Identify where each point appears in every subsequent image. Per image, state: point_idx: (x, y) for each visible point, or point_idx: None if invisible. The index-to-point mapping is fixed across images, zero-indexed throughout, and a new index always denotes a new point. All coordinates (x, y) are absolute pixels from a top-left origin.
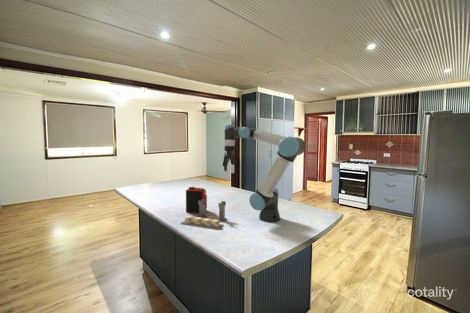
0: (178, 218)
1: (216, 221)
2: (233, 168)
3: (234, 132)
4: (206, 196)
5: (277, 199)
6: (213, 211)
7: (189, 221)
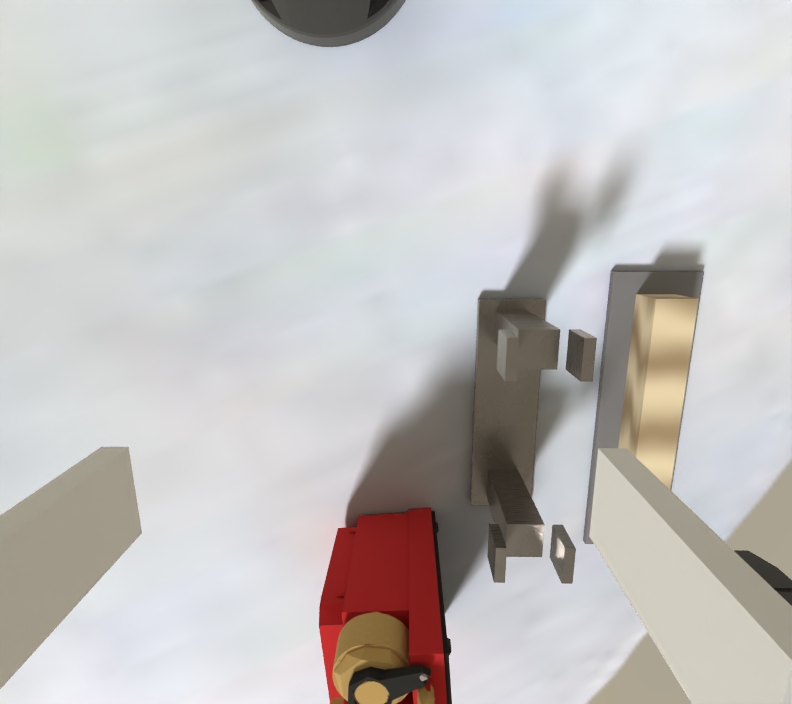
0: (572, 600)
1: (690, 308)
2: (31, 539)
3: None
4: (329, 598)
5: None
6: (347, 461)
7: None
